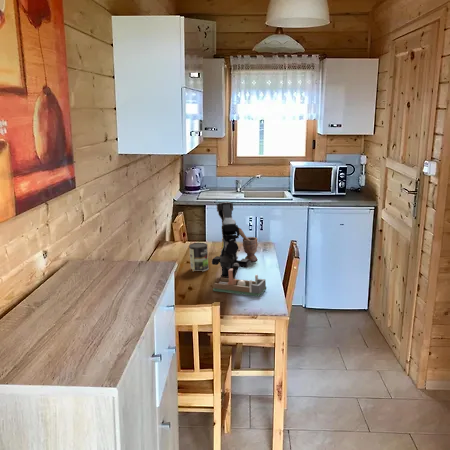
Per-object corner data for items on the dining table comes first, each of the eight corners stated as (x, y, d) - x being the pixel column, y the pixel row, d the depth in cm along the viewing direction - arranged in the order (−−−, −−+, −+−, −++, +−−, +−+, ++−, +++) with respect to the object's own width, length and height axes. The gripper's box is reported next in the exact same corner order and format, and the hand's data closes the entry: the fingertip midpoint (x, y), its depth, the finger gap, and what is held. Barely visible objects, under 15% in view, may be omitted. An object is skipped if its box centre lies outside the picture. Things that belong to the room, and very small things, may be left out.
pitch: (213, 290, 241) (212, 277, 240) (222, 283, 251) (221, 270, 249) (258, 296, 232) (258, 282, 230) (266, 288, 241) (266, 274, 240)
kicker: (216, 287, 243) (216, 270, 241) (221, 283, 248) (221, 266, 246) (231, 288, 240) (230, 271, 238) (236, 284, 245) (235, 267, 243)
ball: (236, 288, 240) (236, 281, 239) (239, 286, 243) (239, 278, 242) (243, 289, 238) (243, 282, 237) (246, 286, 242) (246, 279, 241)
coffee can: (212, 267, 277) (210, 243, 274) (201, 273, 268) (200, 248, 265) (197, 265, 282) (196, 241, 279) (186, 270, 274) (185, 246, 271)
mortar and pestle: (242, 264, 280) (241, 230, 276) (236, 260, 288) (235, 227, 283) (260, 260, 285) (259, 227, 280) (253, 257, 292) (252, 224, 288)
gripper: (206, 251, 235) (207, 281, 238) (241, 254, 227) (243, 285, 231) (215, 245, 244) (217, 274, 248) (250, 247, 237) (251, 278, 241)
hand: (231, 278), depth 242 cm, fingers closed on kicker, 2 cm apart
